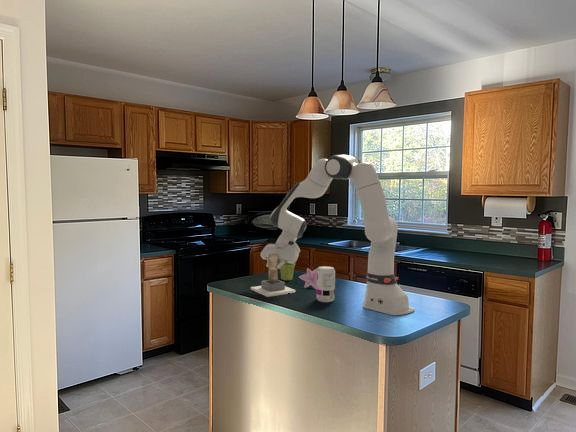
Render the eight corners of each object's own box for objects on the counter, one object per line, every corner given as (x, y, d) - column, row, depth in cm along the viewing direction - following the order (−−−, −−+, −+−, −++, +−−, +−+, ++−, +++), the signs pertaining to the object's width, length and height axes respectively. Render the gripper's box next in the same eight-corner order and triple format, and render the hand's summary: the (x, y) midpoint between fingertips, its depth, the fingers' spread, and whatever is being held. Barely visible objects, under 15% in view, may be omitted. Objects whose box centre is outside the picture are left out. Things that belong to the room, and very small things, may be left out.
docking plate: (295, 292, 202) (295, 283, 202) (267, 296, 193) (267, 286, 193) (278, 285, 216) (278, 276, 215) (250, 289, 207) (250, 280, 206)
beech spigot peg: (279, 283, 204) (279, 254, 203) (271, 284, 201) (271, 255, 200) (274, 281, 207) (274, 253, 206) (266, 282, 205) (267, 254, 204)
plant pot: (276, 280, 227) (276, 264, 227) (281, 277, 236) (281, 261, 236) (292, 282, 225) (292, 266, 224) (297, 278, 234) (297, 263, 233)
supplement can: (313, 301, 188) (314, 268, 187) (320, 296, 195) (321, 265, 194) (330, 303, 184) (331, 270, 183) (337, 299, 191) (337, 267, 190)
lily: (296, 287, 217) (295, 273, 212) (311, 275, 224) (311, 262, 219) (313, 298, 210) (313, 284, 205) (328, 286, 217) (328, 272, 212)
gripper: (265, 239, 214) (252, 260, 207) (298, 243, 203) (286, 266, 195) (270, 247, 218) (258, 268, 211) (303, 251, 207) (292, 273, 199)
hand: (272, 267), depth 203 cm, fingers closed on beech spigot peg, 4 cm apart
